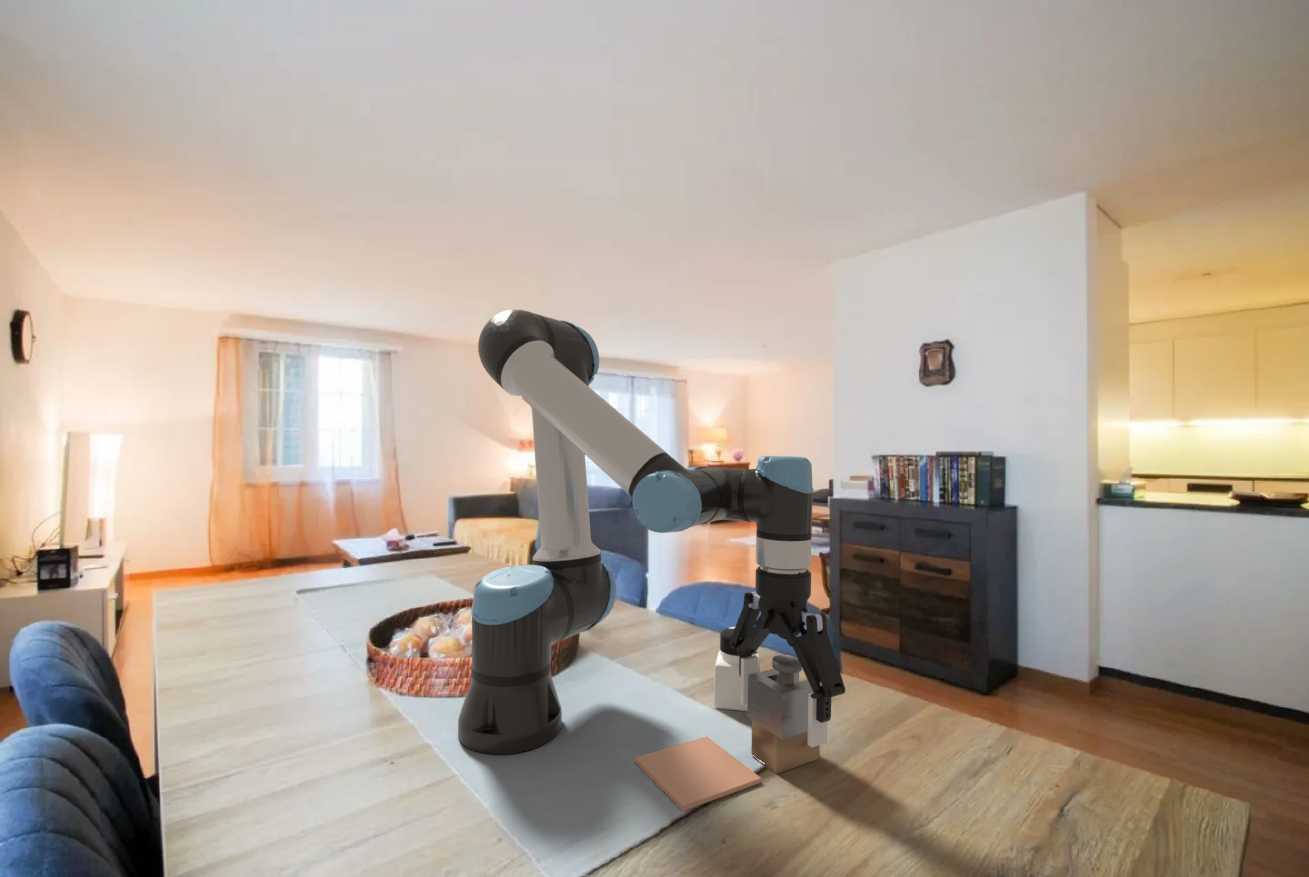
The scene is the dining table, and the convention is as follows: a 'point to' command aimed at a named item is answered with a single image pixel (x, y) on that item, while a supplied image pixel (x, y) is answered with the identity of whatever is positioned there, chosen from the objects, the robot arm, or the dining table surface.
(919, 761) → the dining table surface
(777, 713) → the c link
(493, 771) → the dining table surface
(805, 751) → the knob on wooden block
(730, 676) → the medicine bottle
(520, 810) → the dining table surface
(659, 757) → the tile
